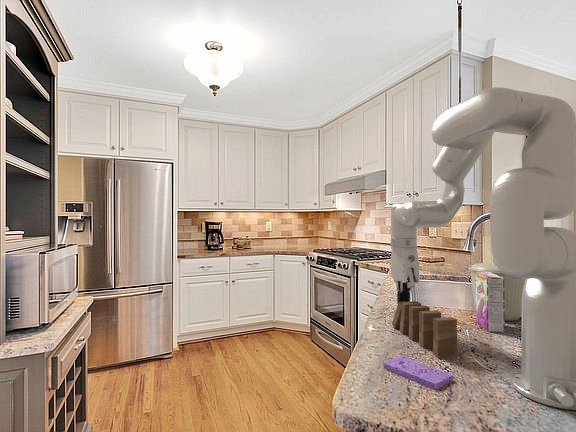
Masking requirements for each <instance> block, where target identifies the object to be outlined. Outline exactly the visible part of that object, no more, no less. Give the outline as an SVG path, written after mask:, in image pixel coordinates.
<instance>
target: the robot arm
mask: <svg viewBox="0 0 576 432" xmlns="http://www.w3.org/2000/svg"><path fill="white" fill-rule="evenodd" d="M495 133H501V134H510V135H516V136H517V135H519V136H520V135H521V136H527V137H526V138H525V139H524V140H525V141H524V142H523V145H522V149H521V167H519V168H518V167H516V168H512V169H509V170H507V171H506V172H503V174H501V175H500V176H499V177H498V178H497V179H496V181H495V182H494V184H493V186H492V189H491V191H490V196H489V197H490V198H489V215H490V218H489V219H490V220H489V221H490V223H489V225H490V226H489V227H490V249H491V255H492V258H493V259H494V262H495V264H496V266H497V267H498V269H499V270H500V271H501V272H502V273H504V274H505V275H507V276H509V277H511V278H515V279H526V281H525V284H524V287H523V292H522V314H521V373H518V374H516V375H514V376H512V379H511V384H512V387H513V388H514V389H515V390H516V392H518V393H519V394H520V395H522V396H524V397H526V398H529V399H530V400H532V401H536V402H537V403H540V404H543V405H546V406H550V407H554V408H559V409H563V410H570V411H576V232H575V231H573V230H571V229H568V228H565V227H558V226H545V220H546V221H549V220H553V221H554V220H560V219H563V218H567V217H568V216H570V215H571V214H572V213H574V212H575V210H576V114H575V111H574V109H573V107H572V106H571V105H570V104H569V103H568V102H566V101H565V100H563V99H561V98H559V97H558V98H557V97H554V96H549V95H543V94H537V93H533V92H528V91H521V90H517V89H511V88H507V87H499V86H497V87H490V88H486V89H483V90H482V91H479V92H477V93H475V94H473V95H472V96H469V97H467V98H465V99H464V100H462V101H460V102H458V103H456V104H454V105H452V106H451V107H448V109H446V110H445V111H443V112H442V113H441V114H440V115H439V116H438V117H437V118H436V120H435V121H434V123H433V125H432V128H431V138H432V141H433V142H434V144H435V145H437V146H440V147H442V148H441V150H440V152H439V154H438V155H437V156H436V159H435V161H433V164H432V165H431V166H432V167H431V169H432V172H433V173H434V175H436V177H437V178H438V179H440V180H441V181H443V182H444V183H445V185H444V189H443V191H442V193H441V194H440V197H438V199H437V201H430V200H429V201H428V200H427V201H425V200H422V201H421V200H412V201H407V202H400V203H399V202H398V203H397V202H396V203H394V204H392V205H391V207H390V249H391V254H390V277H391V279H393V282H394V283H395V284H396V291H397V294H396V295H397V296H396V299H397V300H396V303H397V305H398V303H399V302H410V300H411V297H410V295H411V294H410V292H411V291H412V288H415V283H419V282H420V262H419V260H420V259H419V253H418V249H417V247H418V240H417V238H418V237H417V236H418V235H417V234H418V231H417V229H419V228H420V229H421V228H422V229H424V228H428V229H429V228H434V229H436V228H438V229H439V228H442V227H445V226H446V225H448V224H450V222H451V221H452V220H453V219H454V217H455V216H456V215H457V213H458V212H459V210H460V209H461V207H462V205H463V204H464V203H463V202H464V197H465V183H464V182H465V179H466V177H467V175H468V174H469V173H470V171H471V170H472V168H473V167H474V165H475V163H477V161H478V160H479V158H480V156H481V155H482V153H483V152H484V150H485V149H486V148H487V146H488V145H489V143H490V142H491V139H493V136H494V134H495Z"/></svg>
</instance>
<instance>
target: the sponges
mask: <svg viewBox="0 0 576 432" xmlns="http://www.w3.org/2000/svg"><path fill="white" fill-rule="evenodd" d="M383 369H384V370H387V371H389V372H391V373H395V374H396V375H399V376H401V375H402V376H401V377H404V378H406V379H409V380H412V381H413V380H414V381H413V382H415V381H416V382H415V383H418V382H419V383H418V384H420V383H421V385H423V384H424V385H423V386H426V387H427V386H428V388H430V389H432V390H440V389H441V388H443V387H444V386H445V384H446V383H447V384H449V383H452V382H453V381H454V376H453V374H452V373H450V372H447V371H443V370H441V369H439V368H436V367H435V368H434V367H431V366H430V365H428V364H425V363H423V362H421V361H418V360H415V359H412V358H409V357H408V356H404V355H402V354H400V355H399V356H396V357H395V358H390V360H386V361H385V362H384V361H383ZM452 380H453V381H452ZM447 384H446V385H447ZM442 386H443V387H442Z"/></svg>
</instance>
